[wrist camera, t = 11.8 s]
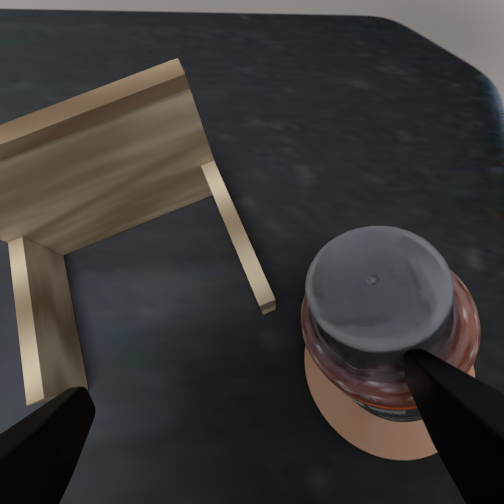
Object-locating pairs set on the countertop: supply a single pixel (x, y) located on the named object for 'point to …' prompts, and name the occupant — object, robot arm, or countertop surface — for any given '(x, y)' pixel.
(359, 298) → the supplement bottle
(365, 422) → the peach rounded disc
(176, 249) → the countertop surface
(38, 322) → the wooden bench
